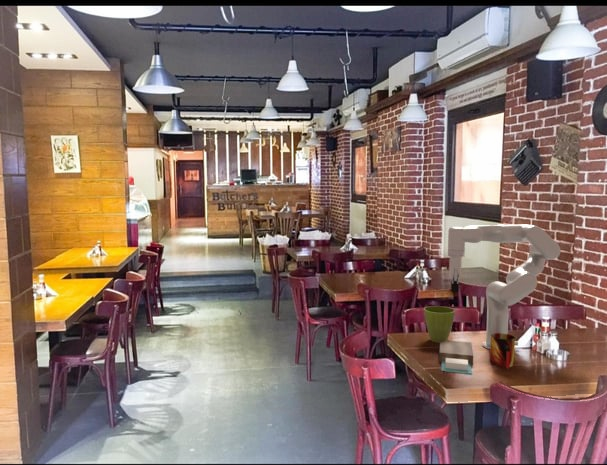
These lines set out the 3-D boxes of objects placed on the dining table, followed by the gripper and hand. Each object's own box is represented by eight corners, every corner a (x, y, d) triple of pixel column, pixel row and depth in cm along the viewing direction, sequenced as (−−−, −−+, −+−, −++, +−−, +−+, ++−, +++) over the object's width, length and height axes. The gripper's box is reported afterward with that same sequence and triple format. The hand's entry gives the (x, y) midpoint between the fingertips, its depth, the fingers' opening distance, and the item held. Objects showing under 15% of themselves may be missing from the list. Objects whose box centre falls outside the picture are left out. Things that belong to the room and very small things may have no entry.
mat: (470, 364, 214) (470, 363, 214) (471, 374, 202) (471, 373, 202) (441, 362, 217) (441, 361, 217) (441, 371, 206) (441, 370, 205)
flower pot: (439, 347, 238) (440, 314, 237) (416, 339, 251) (417, 308, 250) (460, 342, 247) (461, 310, 245) (437, 335, 259) (438, 304, 258)
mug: (507, 371, 206) (508, 343, 205) (485, 361, 219) (486, 334, 218) (526, 369, 209) (527, 341, 208) (503, 358, 222) (504, 332, 221)
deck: (471, 350, 233) (471, 342, 233) (473, 364, 214) (473, 355, 214) (440, 348, 237) (440, 339, 237) (439, 361, 218) (439, 352, 217)
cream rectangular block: (468, 364, 206) (468, 370, 206) (467, 359, 211) (467, 365, 211) (445, 362, 208) (445, 368, 208) (445, 357, 214) (445, 363, 214)
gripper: (447, 251, 242) (446, 288, 243) (447, 254, 228) (446, 294, 229) (464, 251, 240) (462, 289, 241) (465, 255, 226) (463, 295, 227)
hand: (454, 291), depth 235 cm, fingers closed
